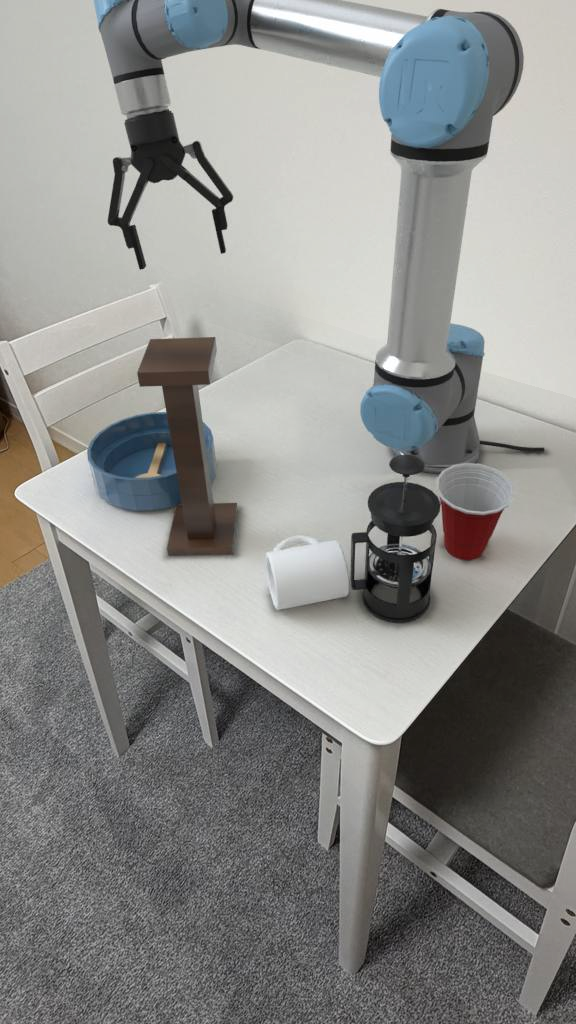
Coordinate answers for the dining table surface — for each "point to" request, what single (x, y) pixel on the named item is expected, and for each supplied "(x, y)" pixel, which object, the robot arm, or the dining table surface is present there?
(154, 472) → the spoon
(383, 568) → the french press
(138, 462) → the bowl
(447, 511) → the plastic cup
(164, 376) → the stand
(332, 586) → the mug
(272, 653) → the dining table surface
